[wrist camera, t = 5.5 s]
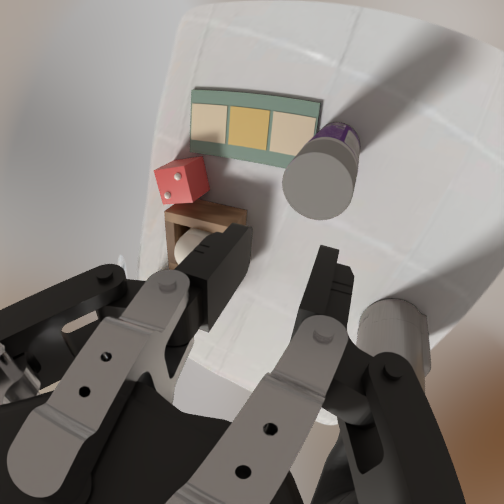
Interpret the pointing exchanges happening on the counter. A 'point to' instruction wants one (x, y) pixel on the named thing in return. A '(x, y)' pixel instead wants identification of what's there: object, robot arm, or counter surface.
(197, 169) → the red die
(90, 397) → the robot arm
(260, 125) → the board
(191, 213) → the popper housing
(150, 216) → the counter surface
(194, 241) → the white egg
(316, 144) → the container
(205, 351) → the counter surface
